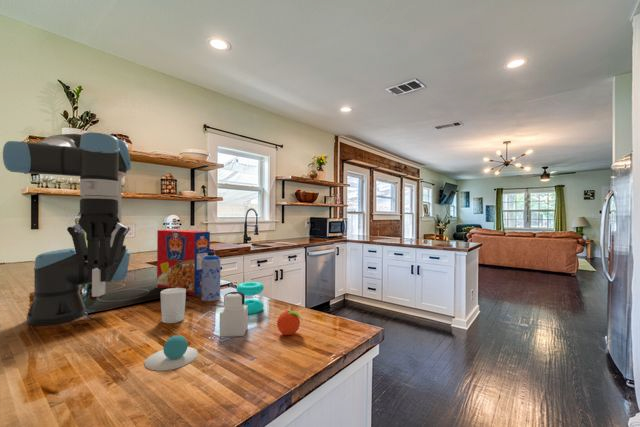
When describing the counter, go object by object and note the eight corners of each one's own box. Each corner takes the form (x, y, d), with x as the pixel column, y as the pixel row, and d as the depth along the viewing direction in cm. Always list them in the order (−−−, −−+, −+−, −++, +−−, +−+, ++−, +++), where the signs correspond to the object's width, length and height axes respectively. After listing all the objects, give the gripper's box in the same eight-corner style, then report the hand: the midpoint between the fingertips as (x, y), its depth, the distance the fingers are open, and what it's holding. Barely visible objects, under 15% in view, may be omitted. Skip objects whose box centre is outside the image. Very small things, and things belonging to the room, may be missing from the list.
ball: (155, 349, 71) (175, 337, 72) (164, 339, 77) (182, 327, 77) (168, 368, 72) (188, 355, 72) (176, 356, 77) (194, 344, 78)
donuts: (268, 282, 114) (253, 288, 105) (268, 308, 114) (253, 316, 105) (247, 280, 118) (230, 285, 108) (247, 305, 118) (230, 312, 108)
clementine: (306, 332, 91) (306, 309, 91) (297, 341, 85) (297, 316, 85) (283, 328, 94) (283, 306, 94) (272, 337, 87) (273, 313, 87)
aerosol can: (213, 294, 132) (213, 250, 132) (224, 297, 127) (224, 251, 127) (197, 298, 126) (197, 251, 126) (208, 302, 121) (208, 253, 121)
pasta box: (157, 287, 145) (157, 230, 145) (172, 284, 151) (172, 229, 151) (194, 295, 131) (194, 232, 131) (209, 291, 137) (209, 231, 137)
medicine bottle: (225, 327, 94) (225, 290, 94) (247, 327, 95) (248, 289, 95) (219, 337, 87) (219, 296, 87) (243, 336, 88) (244, 296, 88)
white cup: (175, 325, 96) (175, 294, 96) (154, 323, 98) (154, 293, 98) (190, 316, 104) (191, 288, 104) (171, 315, 105) (171, 287, 105)
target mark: (135, 372, 68) (135, 371, 68) (156, 348, 79) (156, 347, 79) (190, 368, 69) (190, 368, 69) (203, 346, 81) (203, 345, 81)
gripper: (58, 196, 67) (57, 300, 67) (120, 197, 69) (119, 298, 69) (80, 198, 75) (79, 291, 75) (135, 199, 77) (135, 290, 77)
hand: (98, 294), depth 72 cm, fingers closed
